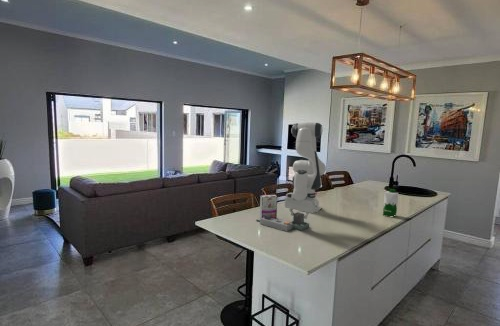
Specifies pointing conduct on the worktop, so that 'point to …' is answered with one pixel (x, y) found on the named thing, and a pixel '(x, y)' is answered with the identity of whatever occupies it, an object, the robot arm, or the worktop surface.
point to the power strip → (275, 223)
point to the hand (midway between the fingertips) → (298, 216)
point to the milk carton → (390, 202)
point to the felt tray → (302, 227)
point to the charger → (298, 218)
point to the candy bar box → (268, 206)
